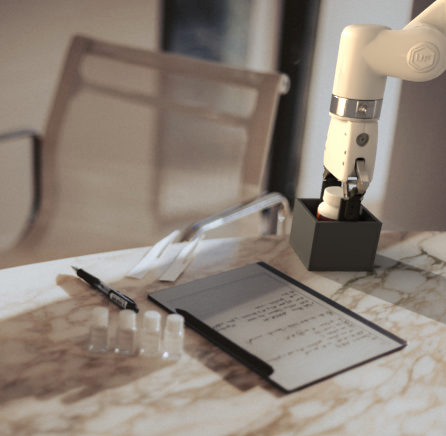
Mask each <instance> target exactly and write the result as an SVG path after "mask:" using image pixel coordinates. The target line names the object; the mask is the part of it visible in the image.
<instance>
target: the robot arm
mask: <svg viewBox="0 0 446 436" xmlns="http://www.w3.org/2000/svg"><path fill="white" fill-rule="evenodd" d="M339 39H340V40H339V46H338V53H337V58H336V67H335V71H334V78H333V85H332V92H331V98H330V103H329V104H330V105H329V110H328V115H329V116H330V117H331V118H330V121H329V126H328V130H327V135H326V140H325V145H324V150H323V151H324V152H323V160H322V161H323V162H322V163H323V169H324V171H323V173H322V182H321V188H320V189H321V190H320V195H319V198H320V202H321V203H322V202H324V200H323V196H324V191H325V189H326V188H327V187H333V186H336V187H343V198H341V199H340V205H339V211H338V217H337V221H352V222H357V221H358V217H359V212H360V206H361V204H362V202H363V200H364V196H365V195H366V193H367V190H368V188H369V187H370V184H371V182H372V181H373V178H374V173H375V167H376V160H377V151H378V141H379V120H380V119H381V112H382V108H383V103H384V96H385V91H386V85H387V81H388V77H390V78H393V79H394V78H396V79H400V80H403V81H409V82H414V83H416V82H417V83H421V82H423V83H424V82H429V81H432V80H434V79H436V78H438V77H439V76H440V75H442V74H443V73H444V72H445V71H446V0H435V1H433V2H432V3H431V4H430V5H429V6H428V7H426V8H425V9H424V10H423V11H421V12H420V13H419V14H418V15H417V16H416V17H415V18H413V19H412V20H411V21H409V23H407V24H406V25H405V26H404V27H403V28H402V29H392V28H391V27H390V26H387V25H382V24H376V23H352V24H349V25H347V26H345V27H344V28H343V29H342V32H341V33H340V38H339ZM349 178H356V179H349ZM350 186H353V187H352V188H350ZM349 189H351V190H350V191H349Z"/></svg>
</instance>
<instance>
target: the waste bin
mask: <svg viewBox="0 0 446 436" xmlns="http://www.w3.org/2000/svg"><path fill="white" fill-rule="evenodd" d="M320 204H321V202H320V197H318V198H317V197H315V198H314V197H295V199H294V204H293V205H294V207H293V212H292V219H291V225H290V232H289V238H288V239H289V240H288V243H289V245H290V246H291V248H292V250H293V251H294V253H295V255H296V256H297V257H298V259H299V260H300V261H301V263H302V264H303V266H304V267H305V268H306V270H307V271H309V272H310V271H311V272H312V271H313V272H373V271H374V266H375V261H376V257H377V253H378V252H377V251H378V246H379V241H380V237H381V233H382V227H383V222H382V221H381V220H380V219H378V218H377V217H376V216H375V215H374V214H373V213H372V212H371V211H370V210H369V209H368V208H367V207H366V206H364V204H362V203H361V206H360V212H359V217H358V221H357V222H352V221H318V220H317V219H316V217H317V212H318V207H319V205H320Z"/></svg>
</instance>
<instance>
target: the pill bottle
mask: <svg viewBox="0 0 446 436" xmlns="http://www.w3.org/2000/svg"><path fill="white" fill-rule="evenodd" d="M351 189H352V188H349V191H350V190H351ZM341 198H343V186H341V187H336V186H333V187H327V188H326V189H325V191H324V196H323V200H324V202H322V203H321V204H320V205H319V207H318V212H317V217H316V219H317V220H318V221H337V217H338V211H339V205H340V199H341Z"/></svg>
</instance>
